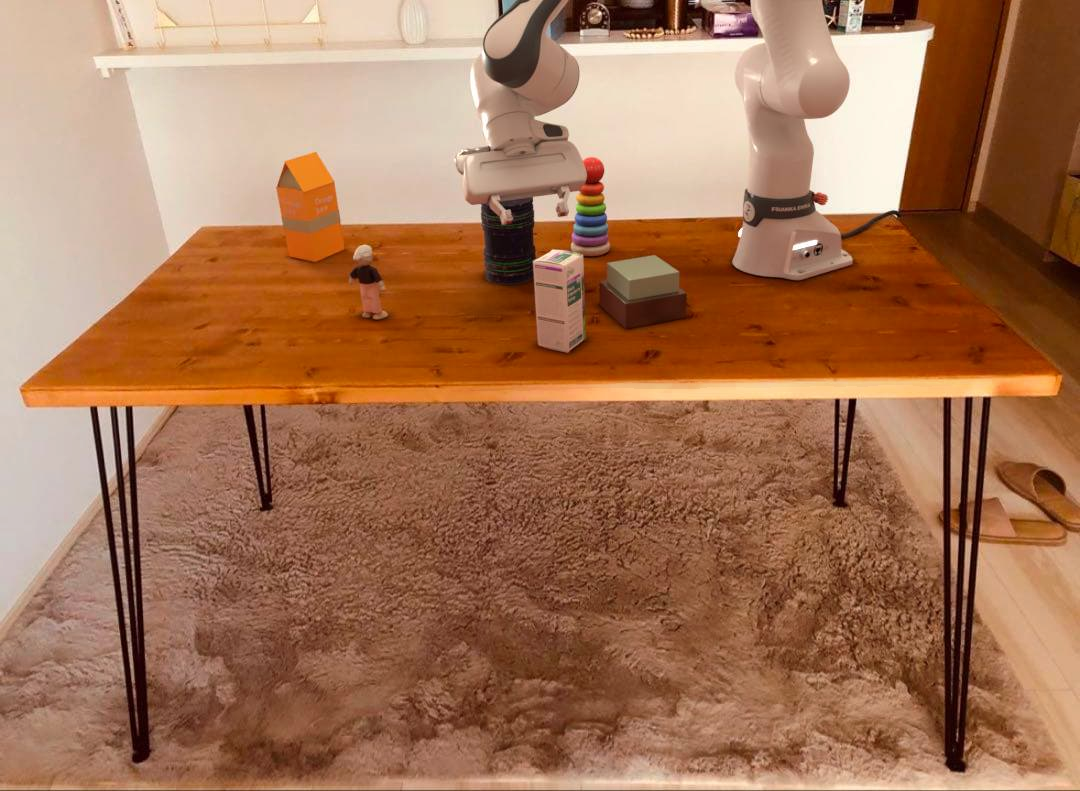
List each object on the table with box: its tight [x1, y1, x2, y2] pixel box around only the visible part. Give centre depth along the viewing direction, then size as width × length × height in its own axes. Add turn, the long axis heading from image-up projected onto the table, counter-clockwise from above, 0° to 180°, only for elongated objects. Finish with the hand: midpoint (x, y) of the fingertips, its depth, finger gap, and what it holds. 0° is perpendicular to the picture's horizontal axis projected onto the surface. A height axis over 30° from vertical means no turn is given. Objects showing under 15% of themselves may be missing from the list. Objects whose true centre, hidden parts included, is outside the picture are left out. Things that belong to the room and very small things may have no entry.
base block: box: [598, 279, 688, 330], centre depth 143 cm, size 11×11×4 cm
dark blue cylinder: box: [480, 197, 537, 285], centre depth 158 cm, size 10×10×15 cm
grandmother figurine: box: [348, 244, 389, 320], centre depth 144 cm, size 8×4×13 cm, turn 71°
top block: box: [606, 254, 680, 300], centre depth 142 cm, size 9×9×4 cm
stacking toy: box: [570, 156, 611, 257], centre depth 168 cm, size 8×8×19 cm
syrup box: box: [533, 249, 587, 354], centre depth 131 cm, size 6×6×14 cm
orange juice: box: [275, 151, 345, 263], centre depth 173 cm, size 8×9×20 cm
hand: (536, 218), depth 134 cm, fingers open, 8 cm apart
